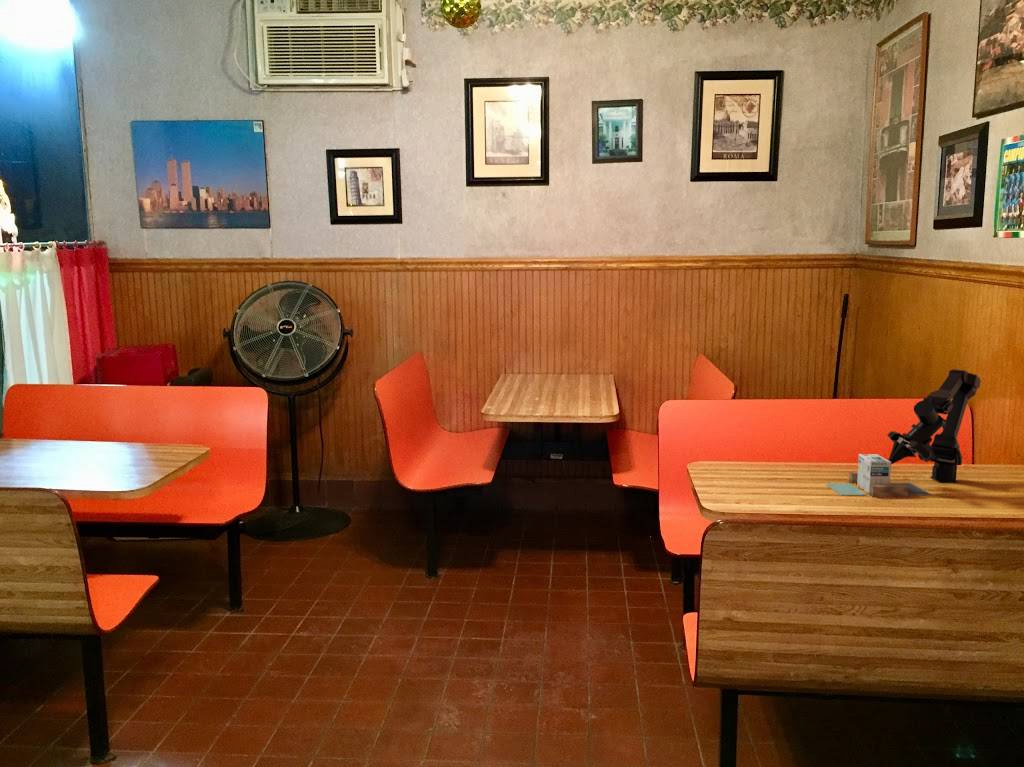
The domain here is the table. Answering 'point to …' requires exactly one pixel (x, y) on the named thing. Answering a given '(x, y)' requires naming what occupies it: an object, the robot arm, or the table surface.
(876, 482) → the light bulb box
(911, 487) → the mat
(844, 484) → the teal pad
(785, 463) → the table surface
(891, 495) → the walnut track
